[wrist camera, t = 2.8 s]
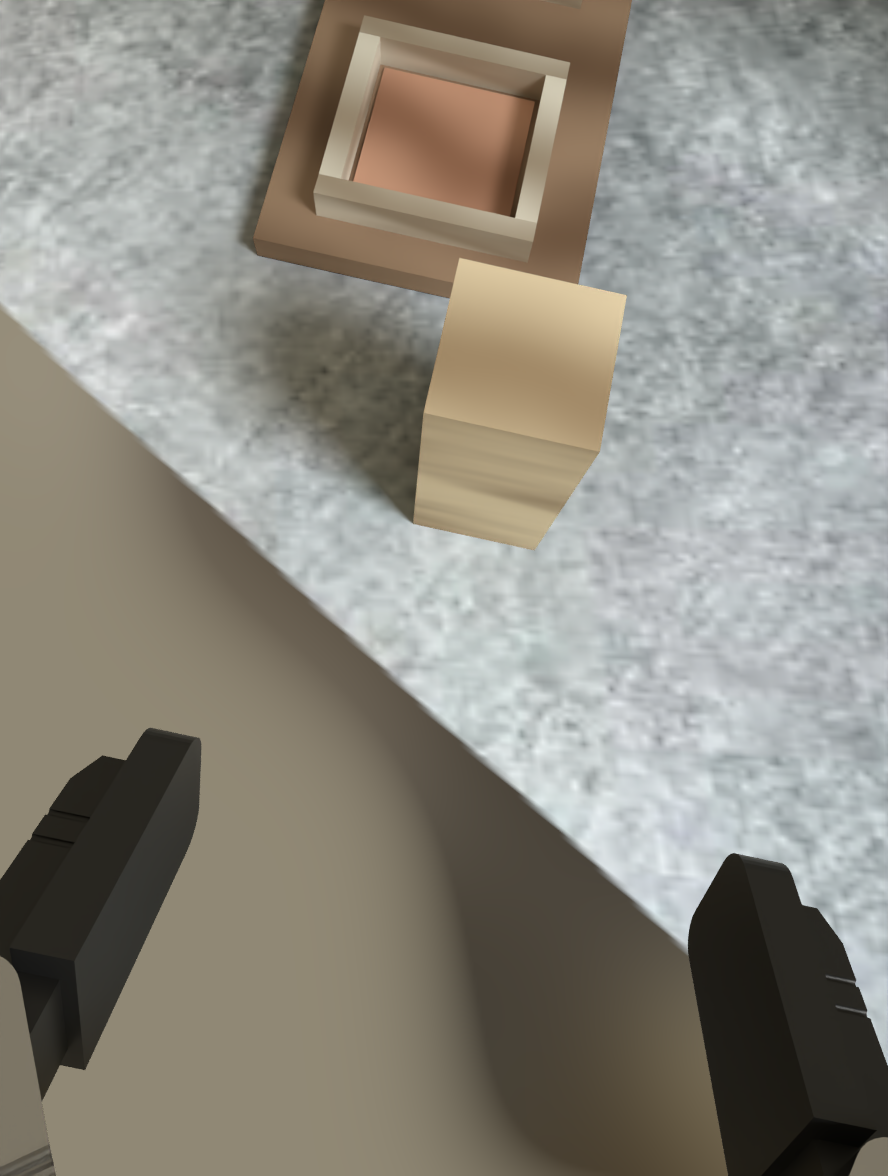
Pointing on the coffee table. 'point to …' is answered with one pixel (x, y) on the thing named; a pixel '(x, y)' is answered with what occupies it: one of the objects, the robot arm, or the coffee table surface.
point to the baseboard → (445, 139)
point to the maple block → (514, 402)
